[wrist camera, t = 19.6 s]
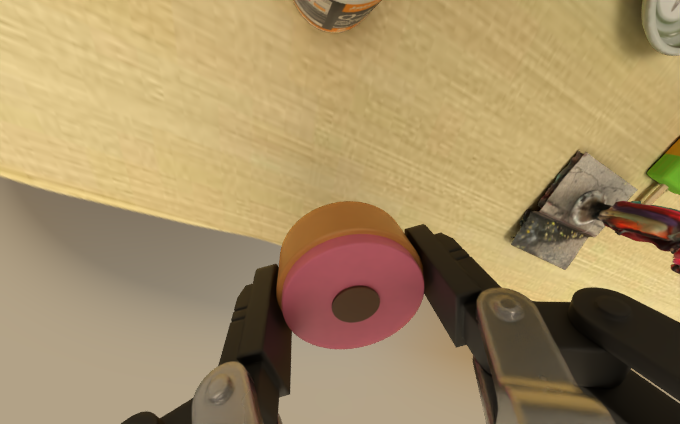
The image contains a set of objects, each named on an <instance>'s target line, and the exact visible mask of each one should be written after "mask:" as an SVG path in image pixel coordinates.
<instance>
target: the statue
mask: <svg viewBox="0 0 680 424" xmlns="http://www.w3.org/2000/svg"><path fill="white" fill-rule="evenodd" d="M582 156H583V157H582ZM581 157H582V158H581ZM580 158H581V159H580ZM579 159H580V160H579ZM637 190H638V189H636V188H635V187H633V186H632V185H630V184H629V183H628V182H627V181H625V180H624V179H622V178H621V177H620V176H618V175H617V174H615V173H614V172H613V171H611V170H610V169H608V168H607V167H606V166H604V165H603V164H602V163H600V162H599V161H597V160H596V159H595V158H593V157H592V156H591V155H590V154H588V153H587V152H586V153H585V154H582V153H580V151H577V155H576V156H575V157H574V158H572V159H571V162H570V163H569V164H568V166H567V167H566V168H564V169H563V170H562V171H561V172H560V173H559V175H558V176H557V179H556V181H555V182H554V183H553V184H551V186H550V187H549V188H548V189H547V191H546V193H545V195H544V196H543V197H542V198H541V199H540V201H539V202H538V207H541V208H542V209H541V211H539V212H538V211H533V212H532V211H531V210H529V209H528V210H527V211H526V212H525V214H524V216H523V219H522V220H521V221H520V230H519V231H518V233H517V234H516V236H515V237H513V238H514V240H513V241H512V243H511V245H513V246H515V247H517V248H519V249H522V250H524V251H526V252H528V253H530V254H532V255H534V256H537V257H539V258H541V259H543V260H545V261H547V262H549V263H551V264H554V265H556V266H558V267H560V268H562V269H564V270H566V268H567V267H568V266H569V265H570V263H571V262H572V261H573V259H574V258H575V256H576V255H577V253H578V251H579V250H580V248H581V247H582V246H583V244H584V243H585V241H586V240H587V238H588V237H596V236H597V235H598V234H599V233H600V232H601V230H602V229H603V228H604V227H605V226H607V227H610V228H611V229H613V230H615V233H617V234H618V235H623V236H625V237H628V238H630V239H632V240H635V241H642V242H650V243H653V244H654V245H656V247H657V248H659V249H660V250H663V251H671V253H672V254H674V257H673V258H675V259H673V260H674V261H673V263H675V264H672V265H671V270H672V271H674V272H676V273H679V274H680V211H678V210H675V209H672V208H666V207H662V206H655V205H646V204H641V201H632V202H627V201H628V200H629V198H630V197H631V196H632V195H633V194H634V193H635V192H636V191H637ZM548 193H550V194H548ZM511 238H512V237H511ZM676 250H677V251H676Z"/></svg>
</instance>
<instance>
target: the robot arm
mask: <svg viewBox="0 0 680 424" xmlns="http://www.w3.org/2000/svg"><path fill="white" fill-rule="evenodd" d="M405 235H406V237H407V238H408V240H409V241H410V243H411V244H412V245H413V247H414V248H415V250H416V251H417V253H418V255H419V257H420V259H421V262H422V267H423V277H424V294H425V296H426V297H427V299H428V301H429V302H430V304H431V305H432V307H433V309H434V311H435V312H436V314H437V316H438V317H439V319H440V321H441V323H442V324H443V326H444V328H445V329H446V331H447V333H448V334H449V336H450V338H451V339H452V341H453V343H454V344H455V346H456V347H460V346H463V345H467V346H468V347H469V349H470V350H471V352H472V354H473V365H474V369H475V374H476V379H477V383H478V387H479V392H480V397H481V401H482V406H483V410H484V415H485V419H486V424H680V404H679V403H678V402H677V401H675V400H674V399H672V398H671V397H669V396H668V395H666V394H665V393H664V392H662V391H661V390H659V389H658V388H656V387H655V386H653V385H652V384H651V383H649V382H648V381H646V380H645V379H643V378H642V377H640V376H639V375H638V374H636V373H635V372H633V371H632V370H630V369H631V368H632V369H634V370H635V371H637V372H638V373H640V374H641V375H643V376H644V377H645V378H647V379H648V380H650V381H651V382H653V383H654V384H655V385H657V386H658V387H660V388H661V389H663V390H664V391H666V392H667V393H669V394H670V395H671V396H673V397H674V398H676V399H677V400H679V401H680V323H679V322H677V321H675V320H673V319H671V318H669V317H667V316H666V315H664V314H662V313H660V312H658V311H656V310H654V309H652V308H650V307H648V306H646V305H644V304H642V303H640V302H638V301H636V300H634V299H632V298H630V297H628V296H626V295H624V294H621V293H619V292H616V291H612V290H608V289H604V288H584V289H580V290H578V291H577V292H575V293H574V295H573V297H572V300H571V302H536V301H531V300H530V299H529V298H527V297H526V296H524V295H523V294H521V293H519V292H516V291H514V290H510V289H506V288H501V287H500V286H499V285H498V284H497V283H496V282H495V281H494V280H493V279H492V278H491V277H490V276H489V275H488V274H487V273H486V272H485V271H484V270H483V269H482V267H481V266H480V265H479V264H478V263H477V262H476V261H475V260H474V259H473V258H472V257H470V256H469V254H468V253H467V252H466V251H465V250H464V249H462V247H461V246H460V245H459V244H458V243H457V242H456V241H455V240H454V239H453V238H451V237H449V236H447V235H445V234H442V233H438V234H433V233H432V232H431V231H430V230H429V229H428V227H427V226H426V225H424V224H422V225H418V226H414V227H411V228H407V229H405ZM278 269H279V267H278V265H277V264H273V265H270V266H266V267H262V268H259V269H257V270H256V273H255V276H254V281H253V284H250V285H246V286H245V288H244V289H243V291H242V292H241V293H240V295H239V296H238V298H237V301H236V305H235V309H234V310H235V312H234V313H233V316H232V319H231V320H232V322H231V323H230V326H229V330H228V334H227V337H226V340H225V344H224V348H223V351H222V355H221V358H220V362H219V365H218V367H216V368H215V369H214V370H212V371H211V372H210V373H209V374H208V375H207V376H206V377H205V378H204V379H203V381H202V382H201V383H200V385H199V387H198V388H197V390H196V392H195V395H194V397H193V398H192V399H191V400H189V401H188V402H186V403H184V404H183V405H181V406H180V407H178V408H176V409H175V410H173V411H171V412H170V413H168V414H166V415H165V416H163V417H162V418H158V417H157V416H156V415H155V414H153V413H151V412H141V413H138V414H135V415H133V416H131V417H130V418H128V419H127V420H125V421H124V422H123V423H121V424H282V421H281V418H280V416H279V414H278V404H279V397H282V396H286V395H289V394H290V375H291V336H292V330H291V329H290V328H289V327H288V325H287V323H286V322H285V319H284V317H283V313H282V311H281V309H280V306H279V304H278V301H277V297H276V287H277V278H278Z"/></svg>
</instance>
